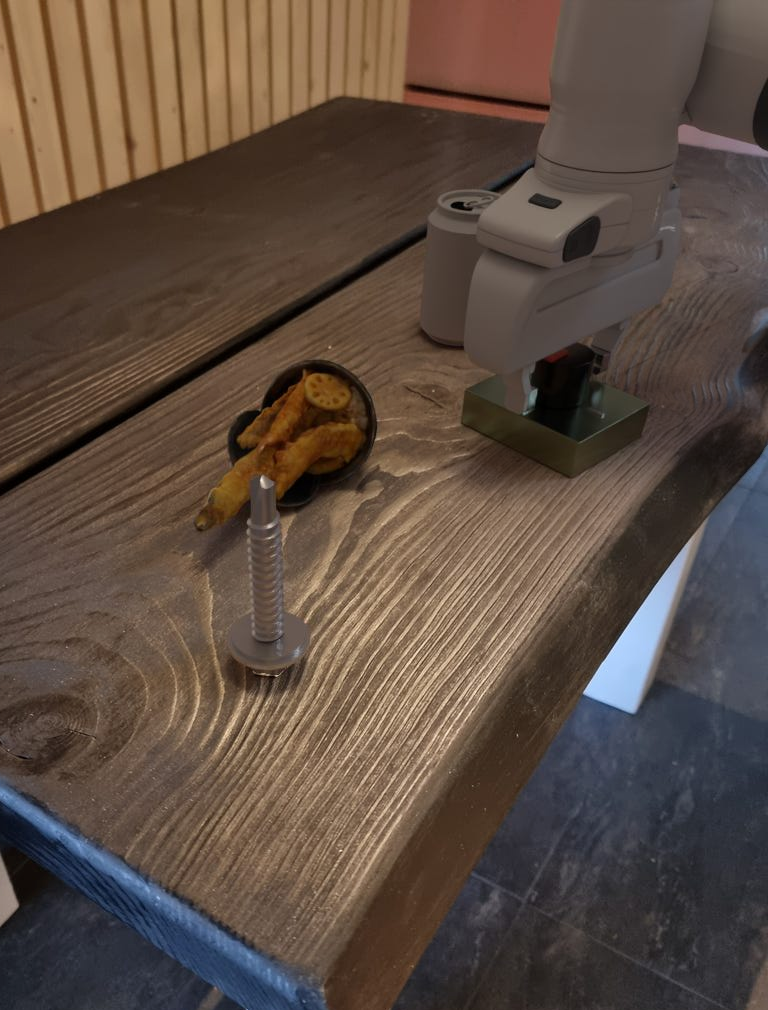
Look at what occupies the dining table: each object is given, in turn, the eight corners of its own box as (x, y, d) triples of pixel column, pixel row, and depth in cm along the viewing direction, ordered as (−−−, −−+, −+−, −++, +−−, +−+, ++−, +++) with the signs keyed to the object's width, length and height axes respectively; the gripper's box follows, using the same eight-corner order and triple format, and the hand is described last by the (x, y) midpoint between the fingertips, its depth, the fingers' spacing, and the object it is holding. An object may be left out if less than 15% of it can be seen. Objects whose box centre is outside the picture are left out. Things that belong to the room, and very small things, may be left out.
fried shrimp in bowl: (417, 393, 69) (351, 436, 53) (344, 512, 74) (266, 583, 59) (315, 327, 70) (221, 350, 54) (251, 450, 75) (148, 503, 59)
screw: (303, 696, 52) (220, 687, 53) (315, 639, 56) (237, 631, 57) (302, 505, 44) (203, 497, 44) (317, 452, 47) (225, 445, 48)
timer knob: (550, 376, 74) (558, 331, 72) (597, 395, 72) (608, 348, 69) (516, 394, 72) (524, 348, 69) (564, 415, 70) (574, 367, 67)
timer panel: (641, 437, 73) (651, 400, 71) (571, 478, 69) (579, 441, 66) (531, 387, 79) (537, 352, 77) (460, 422, 75) (464, 387, 73)
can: (411, 318, 90) (422, 186, 82) (487, 314, 90) (505, 183, 82) (426, 352, 84) (439, 214, 76) (507, 348, 85) (528, 210, 77)
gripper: (645, 159, 69) (604, 336, 78) (460, 222, 59) (438, 416, 69) (722, 178, 65) (670, 362, 75) (538, 249, 56) (505, 450, 65)
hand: (558, 389), depth 71 cm, fingers open, 8 cm apart
